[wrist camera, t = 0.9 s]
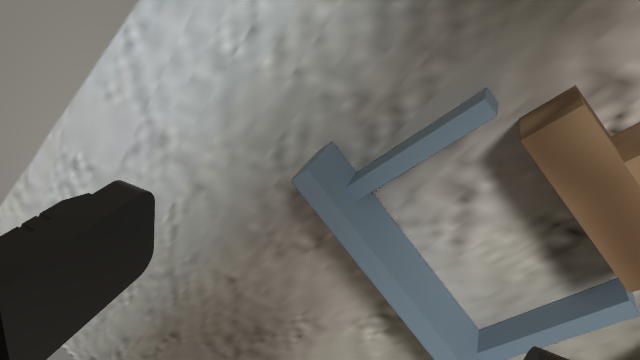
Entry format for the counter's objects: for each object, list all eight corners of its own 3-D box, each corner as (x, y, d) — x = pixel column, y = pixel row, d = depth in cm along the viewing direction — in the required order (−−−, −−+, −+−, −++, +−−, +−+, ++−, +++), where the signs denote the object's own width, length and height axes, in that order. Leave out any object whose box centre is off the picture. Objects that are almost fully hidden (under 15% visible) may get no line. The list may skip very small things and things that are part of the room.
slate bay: (459, 50, 30) (450, 68, 26) (654, 322, 33) (675, 379, 28) (317, 152, 36) (290, 180, 32) (491, 374, 39) (488, 427, 35)
